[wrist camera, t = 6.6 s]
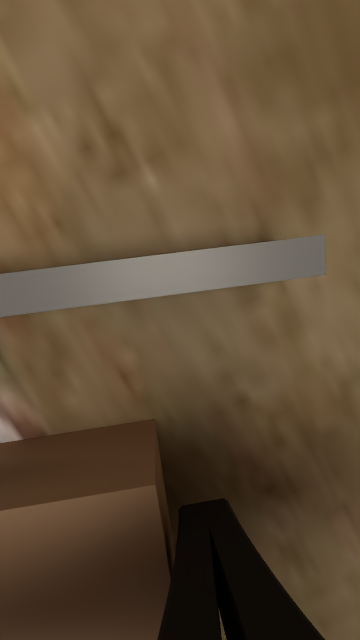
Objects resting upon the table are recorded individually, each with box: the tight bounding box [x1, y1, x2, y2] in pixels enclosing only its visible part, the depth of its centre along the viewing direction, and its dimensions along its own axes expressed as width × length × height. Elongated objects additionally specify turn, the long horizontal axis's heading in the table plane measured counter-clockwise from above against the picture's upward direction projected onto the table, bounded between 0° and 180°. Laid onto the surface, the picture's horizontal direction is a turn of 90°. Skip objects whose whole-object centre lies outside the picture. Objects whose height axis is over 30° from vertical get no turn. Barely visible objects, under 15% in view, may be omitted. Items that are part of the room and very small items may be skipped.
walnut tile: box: [0, 419, 175, 640], centre depth 9 cm, size 6×6×3 cm
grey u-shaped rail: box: [0, 235, 326, 317], centre depth 9 cm, size 16×12×2 cm
